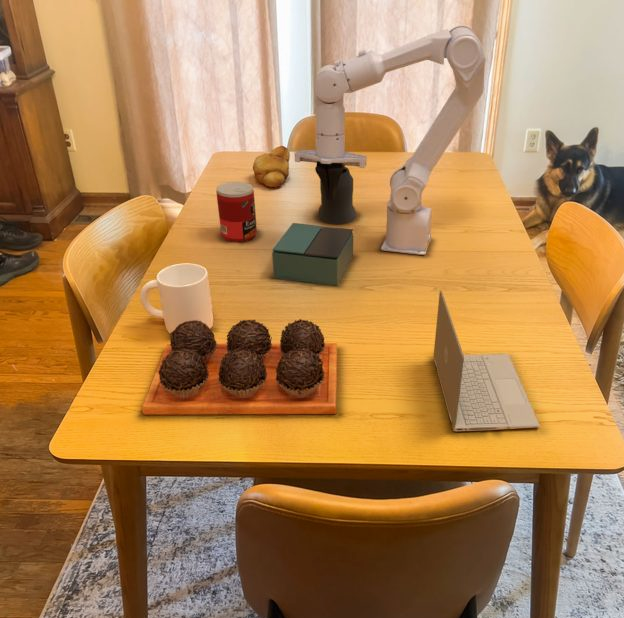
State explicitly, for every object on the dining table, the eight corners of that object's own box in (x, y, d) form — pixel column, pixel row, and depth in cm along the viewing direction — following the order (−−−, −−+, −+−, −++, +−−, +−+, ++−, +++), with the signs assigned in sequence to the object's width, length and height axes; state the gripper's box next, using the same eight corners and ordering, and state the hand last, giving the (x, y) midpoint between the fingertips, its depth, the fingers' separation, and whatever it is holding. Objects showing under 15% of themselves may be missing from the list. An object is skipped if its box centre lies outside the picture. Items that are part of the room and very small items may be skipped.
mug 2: (355, 224, 154) (356, 177, 147) (316, 223, 154) (314, 176, 148) (357, 204, 164) (357, 159, 157) (320, 204, 164) (319, 158, 158)
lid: (353, 230, 137) (353, 229, 137) (336, 258, 127) (336, 256, 126) (323, 228, 138) (323, 226, 138) (304, 255, 128) (304, 253, 128)
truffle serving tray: (336, 350, 111) (336, 307, 107) (336, 415, 98) (335, 368, 93) (167, 351, 111) (160, 307, 106) (143, 415, 97) (133, 368, 93)
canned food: (251, 244, 145) (246, 195, 139) (215, 241, 146) (210, 192, 140) (261, 229, 151) (258, 182, 145) (228, 226, 153) (223, 180, 146)
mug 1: (138, 337, 114) (127, 284, 109) (153, 312, 121) (144, 261, 115) (207, 340, 114) (199, 287, 108) (219, 315, 121) (212, 264, 115)
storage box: (353, 256, 140) (353, 229, 137) (337, 285, 130) (337, 256, 126) (293, 250, 143) (292, 222, 139) (273, 278, 132) (271, 249, 129)
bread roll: (288, 190, 171) (286, 159, 166) (250, 190, 171) (247, 159, 166) (291, 172, 182) (290, 143, 177) (255, 172, 181) (253, 143, 177)
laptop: (539, 430, 95) (556, 354, 88) (452, 433, 94) (461, 357, 87) (508, 357, 110) (520, 287, 103) (432, 359, 109) (438, 289, 102)
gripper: (288, 134, 130) (291, 201, 138) (361, 141, 127) (360, 208, 135) (299, 124, 136) (301, 189, 143) (369, 130, 133) (367, 196, 141)
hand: (330, 197), depth 140 cm, fingers closed
